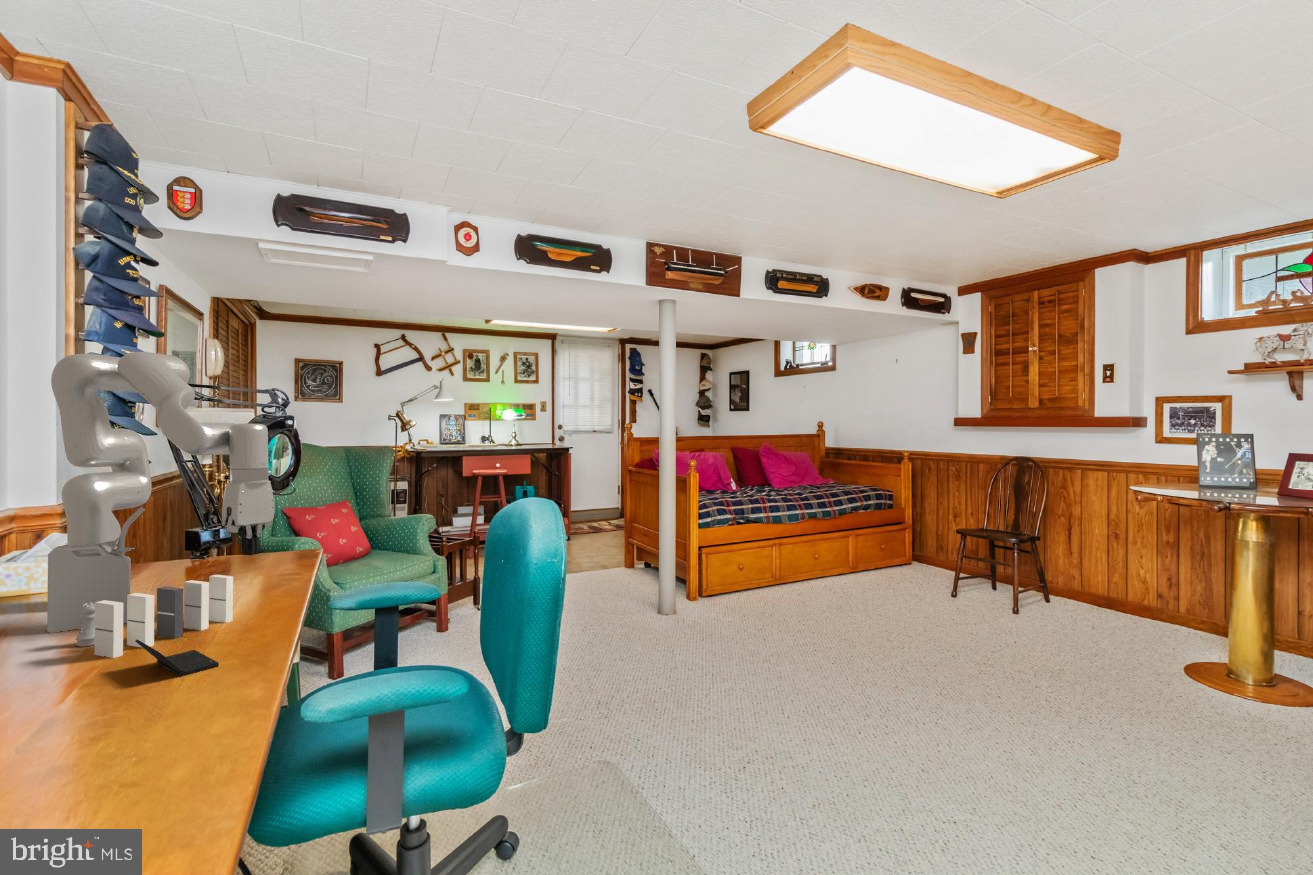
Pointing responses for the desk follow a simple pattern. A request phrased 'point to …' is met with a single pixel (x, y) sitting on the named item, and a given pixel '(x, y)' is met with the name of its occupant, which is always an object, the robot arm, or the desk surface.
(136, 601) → the domino
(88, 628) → the rook chess piece
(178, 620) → the domino
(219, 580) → the domino
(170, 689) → the desk surface
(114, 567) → the fuel canister
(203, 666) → the handheld gaming console
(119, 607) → the domino
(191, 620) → the domino
